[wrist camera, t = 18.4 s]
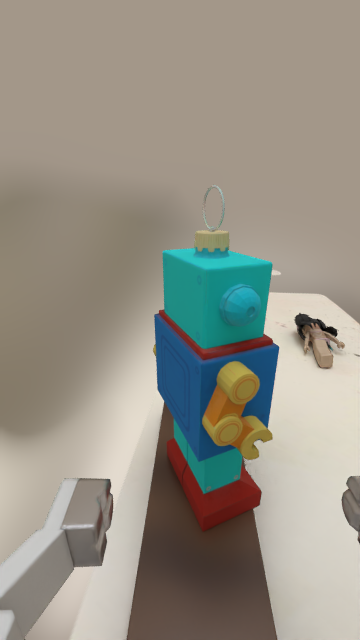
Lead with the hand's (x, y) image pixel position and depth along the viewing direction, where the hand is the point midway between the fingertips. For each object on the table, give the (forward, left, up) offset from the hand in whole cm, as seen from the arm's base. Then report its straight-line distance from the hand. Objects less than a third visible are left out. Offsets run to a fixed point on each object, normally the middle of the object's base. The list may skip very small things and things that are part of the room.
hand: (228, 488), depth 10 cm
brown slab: (+10, +6, -17) cm, 21 cm away
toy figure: (+49, +1, -18) cm, 52 cm away
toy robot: (+11, +6, -15) cm, 19 cm away
